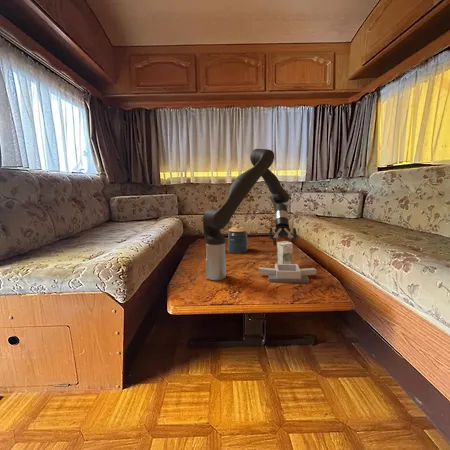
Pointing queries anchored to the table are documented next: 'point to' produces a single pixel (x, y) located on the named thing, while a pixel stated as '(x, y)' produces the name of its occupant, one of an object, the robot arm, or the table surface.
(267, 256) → the table surface
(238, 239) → the canister
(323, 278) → the table surface
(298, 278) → the base
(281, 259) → the syrup box
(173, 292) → the table surface
